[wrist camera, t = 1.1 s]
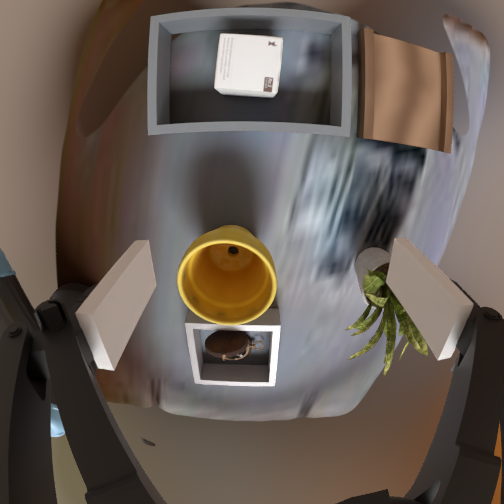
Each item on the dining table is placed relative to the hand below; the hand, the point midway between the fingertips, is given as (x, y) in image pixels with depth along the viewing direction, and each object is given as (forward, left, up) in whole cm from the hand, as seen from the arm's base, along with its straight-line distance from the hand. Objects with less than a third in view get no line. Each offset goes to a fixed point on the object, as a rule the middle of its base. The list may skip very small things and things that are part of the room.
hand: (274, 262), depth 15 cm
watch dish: (-4, -25, -22) cm, 33 cm away
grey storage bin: (-2, +13, -22) cm, 26 cm away
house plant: (+14, -11, -22) cm, 28 cm away
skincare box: (-2, +13, -22) cm, 26 cm away
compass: (-3, -25, -22) cm, 33 cm away
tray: (+18, +13, -22) cm, 31 cm away
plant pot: (-4, -9, -22) cm, 24 cm away
